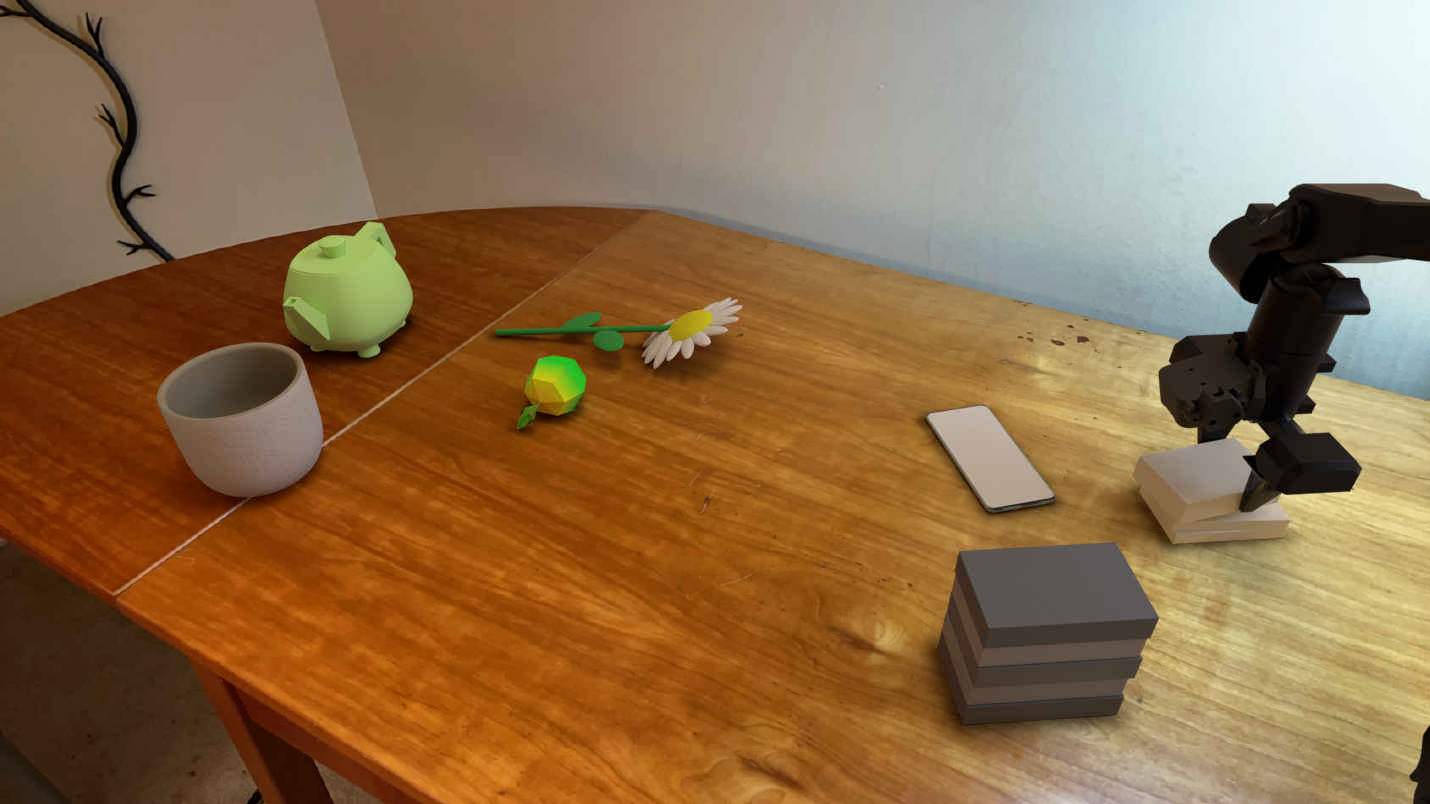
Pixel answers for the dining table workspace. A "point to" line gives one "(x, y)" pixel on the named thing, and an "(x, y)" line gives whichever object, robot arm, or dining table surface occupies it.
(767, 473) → the dining table surface
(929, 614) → the dining table surface
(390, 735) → the dining table surface
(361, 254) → the teapot
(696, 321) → the decorative flower
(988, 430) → the smartphone
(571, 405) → the apple
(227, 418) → the planter
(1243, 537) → the beige rectangular slab
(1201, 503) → the cream block
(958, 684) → the grey stack
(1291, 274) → the robot arm
